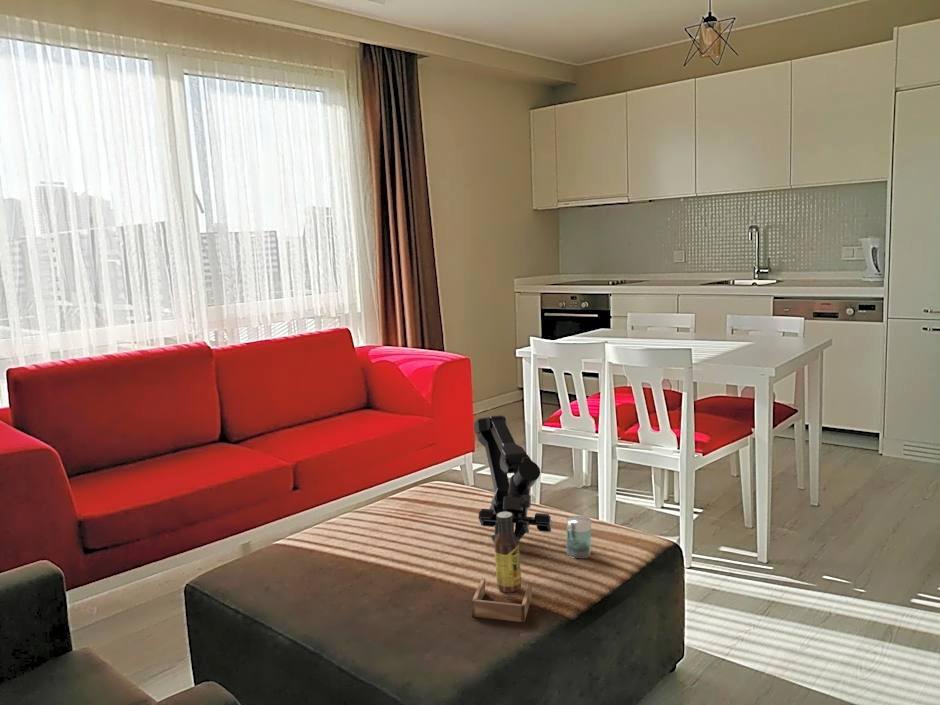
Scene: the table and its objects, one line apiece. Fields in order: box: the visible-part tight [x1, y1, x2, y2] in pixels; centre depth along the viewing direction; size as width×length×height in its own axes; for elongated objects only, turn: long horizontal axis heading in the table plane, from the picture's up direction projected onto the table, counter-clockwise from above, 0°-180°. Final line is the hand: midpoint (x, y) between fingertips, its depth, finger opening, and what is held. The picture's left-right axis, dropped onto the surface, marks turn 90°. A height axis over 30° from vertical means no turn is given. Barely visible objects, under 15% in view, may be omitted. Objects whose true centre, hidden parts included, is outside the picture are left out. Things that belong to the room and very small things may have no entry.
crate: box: [471, 577, 533, 623], centre depth 191 cm, size 12×13×4 cm
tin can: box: [566, 515, 592, 559], centre depth 220 cm, size 7×7×10 cm
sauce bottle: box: [493, 512, 522, 593], centre depth 199 cm, size 7×6×20 cm
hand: (510, 551), depth 202 cm, fingers closed
